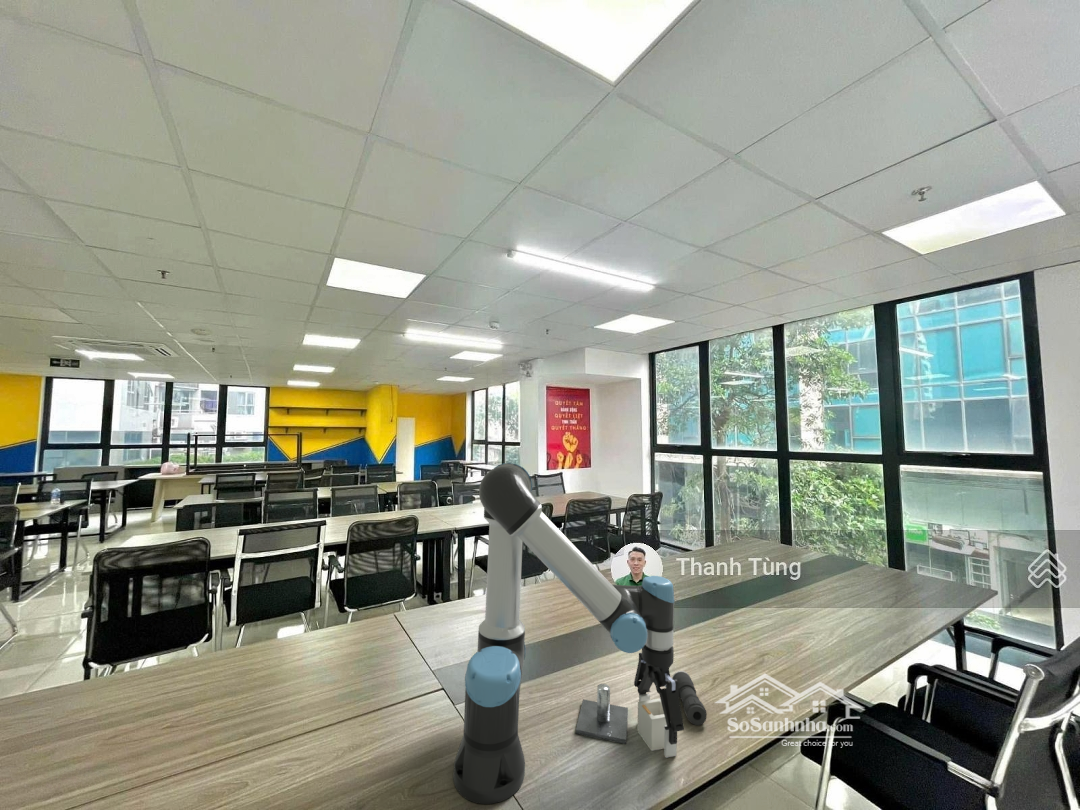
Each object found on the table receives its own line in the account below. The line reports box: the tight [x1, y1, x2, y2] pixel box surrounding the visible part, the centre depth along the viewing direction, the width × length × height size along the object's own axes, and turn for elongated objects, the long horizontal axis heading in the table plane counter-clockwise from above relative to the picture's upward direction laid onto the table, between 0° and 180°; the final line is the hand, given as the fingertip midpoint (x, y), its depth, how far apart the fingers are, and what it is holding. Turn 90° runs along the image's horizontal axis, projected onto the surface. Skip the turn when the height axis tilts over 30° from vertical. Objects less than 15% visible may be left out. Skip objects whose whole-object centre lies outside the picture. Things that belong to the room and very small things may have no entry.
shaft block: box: [575, 683, 629, 745], centre depth 106 cm, size 12×12×8 cm
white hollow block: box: [636, 697, 667, 752], centre depth 101 cm, size 6×6×7 cm
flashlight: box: [671, 670, 708, 726], centre depth 113 cm, size 15×5×5 cm, turn 176°
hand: (656, 737), depth 101 cm, fingers open, 11 cm apart
